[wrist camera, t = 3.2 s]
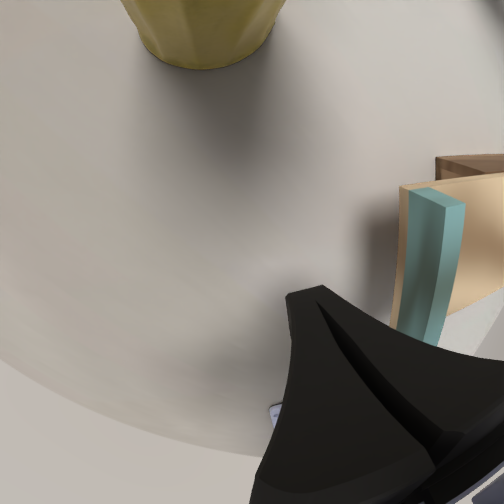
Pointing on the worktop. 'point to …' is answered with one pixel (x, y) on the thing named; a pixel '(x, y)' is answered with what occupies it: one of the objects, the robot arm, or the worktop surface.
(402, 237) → the tan panel teal strip
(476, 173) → the box
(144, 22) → the vase
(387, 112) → the worktop surface
